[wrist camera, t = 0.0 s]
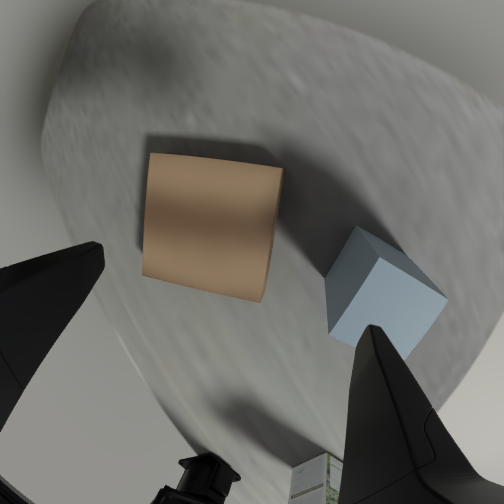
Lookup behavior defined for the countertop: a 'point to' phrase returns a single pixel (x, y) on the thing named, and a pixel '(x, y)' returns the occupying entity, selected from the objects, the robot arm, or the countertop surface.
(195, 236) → the walnut block
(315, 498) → the syrup box
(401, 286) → the slate block
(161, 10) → the countertop surface
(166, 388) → the countertop surface
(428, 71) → the countertop surface
